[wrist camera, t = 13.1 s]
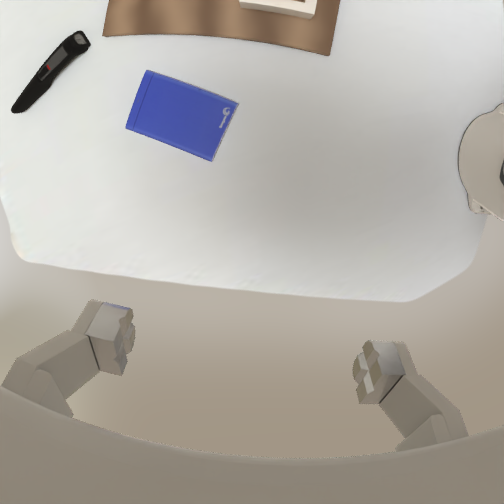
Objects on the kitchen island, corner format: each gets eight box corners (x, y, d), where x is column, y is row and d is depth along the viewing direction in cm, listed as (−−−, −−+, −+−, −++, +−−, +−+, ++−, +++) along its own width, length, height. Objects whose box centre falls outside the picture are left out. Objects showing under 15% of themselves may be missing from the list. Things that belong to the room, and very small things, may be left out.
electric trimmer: (18, 99, 32) (5, 102, 29) (82, 29, 28) (69, 27, 25) (28, 115, 34) (15, 120, 31) (93, 46, 29) (81, 45, 27)
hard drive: (238, 103, 33) (145, 69, 31) (211, 162, 37) (124, 128, 34) (239, 102, 34) (149, 70, 32) (213, 159, 38) (129, 127, 36)
